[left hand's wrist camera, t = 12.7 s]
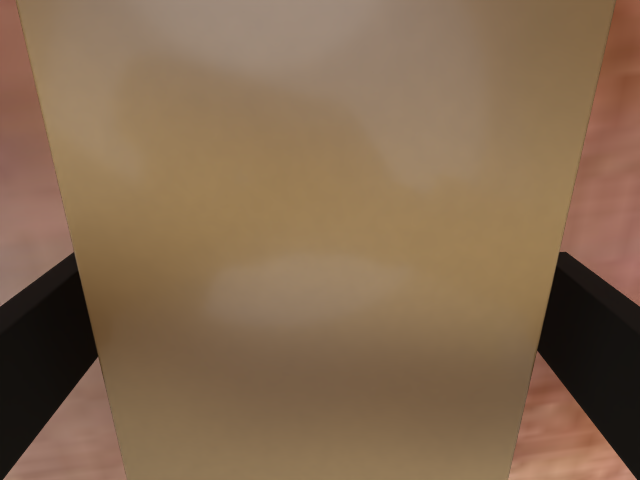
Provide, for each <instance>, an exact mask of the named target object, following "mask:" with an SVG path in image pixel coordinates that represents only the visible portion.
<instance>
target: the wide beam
mask: <svg viewBox="0 0 640 480" xmlns="http://www.w3.org/2000/svg"><path fill="white" fill-rule="evenodd" d="M615 3H616V0H16V4H17V8H18V13H19V17H20V21H21V26H22V30H23V34H24V38H25V43H26V47H27V51H28V56H29V60H30V64H31V69H32V73H33V77H34V81H35V86H36V90H37V94H38V99H39V103H40V107H41V112H42V116H43V120H44V124H45V129H46V133H47V137H48V142H49V146H50V150H51V155H52V159H53V163H54V167H55V172H56V176H57V180H58V185H59V189H60V193H61V198H62V202H63V206H64V210H65V215H66V219H67V223H68V228H69V232H70V236H71V241H72V245H73V249H74V253H75V258H76V262H77V266H78V271H79V275H80V279H81V284H82V288H83V292H84V296H85V301H86V305H87V309H88V314H89V318H90V322H91V327H92V331H93V335H94V339H95V344H96V348H97V352H98V357H99V361H100V365H101V370H102V374H103V378H104V382H105V387H106V391H107V395H108V400H109V404H110V408H111V413H112V417H113V421H114V425H115V430H116V434H117V438H118V443H119V447H120V451H121V456H122V460H123V464H124V468H125V473H126V477H127V480H508V477H509V472H510V468H511V464H512V459H513V455H514V450H515V446H516V441H517V437H518V433H519V428H520V424H521V419H522V415H523V410H524V406H525V402H526V397H527V393H528V388H529V384H530V379H531V375H532V371H533V366H534V362H535V357H536V353H537V348H538V344H539V340H540V335H541V331H542V326H543V322H544V317H545V313H546V309H547V304H548V300H549V295H550V291H551V286H552V282H553V278H554V273H555V269H556V264H557V260H558V255H559V251H560V247H561V242H562V238H563V233H564V229H565V224H566V220H567V216H568V211H569V207H570V202H571V198H572V193H573V189H574V185H575V180H576V176H577V171H578V167H579V162H580V158H581V154H582V149H583V145H584V140H585V136H586V131H587V127H588V123H589V118H590V114H591V109H592V105H593V100H594V96H595V92H596V87H597V83H598V78H599V74H600V69H601V65H602V61H603V56H604V52H605V47H606V43H607V38H608V34H609V30H610V25H611V21H612V16H613V12H614V7H615Z"/></svg>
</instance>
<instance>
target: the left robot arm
mask: <svg viewBox="0 0 640 480" xmlns="http://www.w3.org/2000/svg"><path fill="white" fill-rule="evenodd" d="M537 351H538V352H539V353H540V355H541V356H542V357H543V359H544V360H545V361H546V362H547V364H548V365H549V366H550V368H551V369H552V370H553V371H554V373H555V374H556V375H557V377H558V378H559V379H560V381H561V382H562V383H563V384H564V386H565V387H566V388H567V390H568V391H569V392H570V393H571V395H572V396H573V397H574V399H575V400H576V401H577V403H578V404H579V405H580V406H581V408H582V409H583V410H584V412H585V413H586V414H587V415H588V417H589V418H590V419H591V421H592V422H593V423H594V424H595V426H596V427H597V428H598V430H599V431H600V432H601V434H602V435H603V436H604V437H605V439H606V440H607V441H608V443H609V444H610V445H611V446H612V448H613V449H614V450H615V452H616V453H617V454H618V456H619V457H620V458H621V459H622V461H623V462H624V463H625V465H626V466H627V467H628V468H629V470H630V471H631V472H632V474H633V475H634V476H635V478H636V479H637V480H640V307H639V306H638V305H637V304H635V303H634V302H633V301H631V300H630V299H629V298H627V297H626V296H625V295H623V294H622V293H621V292H619V291H618V290H616V289H615V288H614V287H612V286H611V285H610V284H608V283H607V282H606V281H604V280H603V279H602V278H600V277H599V276H598V275H596V274H595V273H594V272H592V271H591V270H590V269H588V268H587V267H585V266H584V265H583V264H581V263H580V262H579V261H577V260H576V259H575V258H573V257H572V256H571V255H569V254H568V253H567V252H559V255H558V260H557V264H556V269H555V273H554V278H553V282H552V286H551V291H550V295H549V300H548V304H547V309H546V313H545V317H544V322H543V326H542V331H541V335H540V340H539V344H538V348H537ZM97 357H98V352H97V348H96V344H95V339H94V335H93V331H92V327H91V322H90V318H89V314H88V309H87V305H86V301H85V296H84V292H83V288H82V284H81V279H80V275H79V271H78V266H77V262H76V258H75V253H74V252H73V253H72V254H71V255H69V256H68V257H67V258H65V259H64V260H63V261H61V262H60V263H59V264H57V265H56V266H55V267H53V268H52V269H50V270H49V271H48V272H46V273H45V274H44V275H42V276H41V277H40V278H38V279H37V280H36V281H34V282H33V283H32V284H30V285H29V286H28V287H26V288H25V289H24V290H22V291H21V292H19V293H18V294H17V295H15V296H14V297H13V298H11V299H10V300H9V301H7V302H6V303H5V304H3V305H2V306H1V307H0V480H3V479H4V478H5V476H6V475H7V474H8V472H9V471H10V470H11V468H12V467H13V466H14V465H15V463H16V462H17V461H18V459H19V458H20V457H21V456H22V454H23V453H24V452H25V450H26V449H27V448H28V446H29V445H30V444H31V443H32V441H33V440H34V439H35V437H36V436H37V435H38V434H39V432H40V431H41V430H42V428H43V427H44V426H45V424H46V423H47V422H48V421H49V419H50V418H51V417H52V415H53V414H54V413H55V412H56V410H57V409H58V408H59V406H60V405H61V404H62V402H63V401H64V400H65V399H66V397H67V396H68V395H69V393H70V392H71V391H72V390H73V388H74V387H75V386H76V384H77V383H78V382H79V381H80V379H81V378H82V377H83V375H84V374H85V373H86V371H87V370H88V369H89V368H90V366H91V365H92V364H93V362H94V361H95V360H96V359H97Z"/></svg>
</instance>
